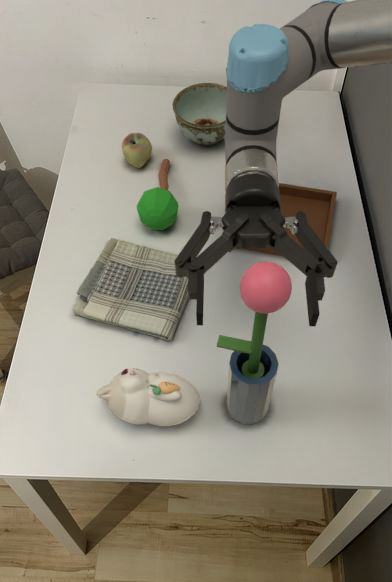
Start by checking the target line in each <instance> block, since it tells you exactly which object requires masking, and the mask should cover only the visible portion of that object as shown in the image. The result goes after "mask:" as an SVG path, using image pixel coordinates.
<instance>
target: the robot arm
mask: <svg viewBox="0 0 392 582" xmlns="http://www.w3.org/2000/svg"><path fill="white" fill-rule="evenodd" d="M389 64H392V0H350V1H348V0H321V1H319V2H316V3H314V4H312V5H310V6H309V7H308V8H307V9H306V10H304V12H302V13H301V14H299V15H298V16H296V17H295V18H293V19H292V20H290V21H289V22H287V23H286V24H285V25H283V26H281V27H280V28H279V27H277V26H274V25H273V24H272V25H271V24H267V23H254V24H253V25H252V26H247V25H246V26H244V27H241V28H240V29H238V30H237V31H236V32H235V33H234V34H233V35H232V36H231V39H230V41H229V45H228V55H227V62H226V68H225V76H226V87H227V108H226V125H225V135H224V138H223V140H224V154H225V156H224V157H225V169H224V191H225V193H224V214H223V216H213V215H212V212H211V211H209V210H206V211H204V212H202V214H201V219H200V224H199V225H198V227H197V228H196V229H195V231H193V233H192V235H191V236H190V238H189V239H188V241H187V242H186V243H185V245H184V247H182V249H181V251H180V252H179V253H178V254H177V255H178V256H177V258H176V259H175V271H176V275H177V276H178V277H183V276H185V277H187V278H188V300H191V301H192V300H193V301H194V300H195V301H196V305H195V315H196V319H195V320H196V326H204V302H205V301H204V300H205V299H204V297H205V296H204V295H205V274H206V273H207V272H208V271H209V270H210V269H211V268H213V267H214V266H215V265H216V264H217V263H218V262H219V261H220V260H222V258H223V257H224V256H226V254H227V253H232V251H233V250H235V249H237V248H236V247H237V246H238V245H239V246H242V248H250V247H256V248H265V246H269V247H270V248H271V249H272V250H273V251H275V252H276V253H277V252H279V253H280V254H281V255H283V256H282V257H283V258H284V259H286V260H287V261H288V262H289V263H290V264H292V265H293V266H294V267H295V268H296V269H298V270H299V271H300V272H301V273H302V274H303V275H305V282H304V286H305V288H304V289H305V297H306V298H305V299H306V307H307V319H308V327H316V326H317V323H318V320H319V317H320V313H321V312H320V306H319V305H320V303H319V302H321V301H323V299H324V296H325V293H326V284H325V278H326V279H331V278H333V277H334V275H335V272H336V270H337V266H338V261H337V258H336V257H335V256H334V255H333V254H332V252H331V251H330V250H329V248H328V249H327V247H326V246H325V245H324V244H323V242H322V241H321V240H320V238H319V237H318V236H317V235H316V233H315V232H314V231H313V229H312V228H311V227H310V226H309V224H308V222H307V218H306V214H305V213H304V212H302V211H299V212H297V214H296V217H284V216H283V214H282V213H281V207H280V194H279V183H280V181H279V170H278V161H277V139H278V132H279V131H278V130H279V122H280V117H281V110H282V104H283V100H284V98H285V97H287V96H288V95H289V94H291V93H292V92H294V91H295V90H296V89H297V88H299V87H300V86H301V85H303V84H304V83H306V82H307V81H308V80H311V78H313V77H314V76H315V75H317V74H318V73H319V72H322V71H327V70H329V71H330V70H338V69H347V68H356V67H366V66H367V67H368V66H376V65H389ZM219 228H221V230H222V233H221V235H220V236H218V237H217V238H216V239H215V240H214V241H213V242H212V243H211V244H210V245H209V246H207V247H206V248H205V249H204V250H203V248H204V247H205V245H206V244H207V243H208V241H209V239H210V237H211V235H214V234H215V233H216V231H217V230H218V229H219ZM284 228H289V229H290V231H291V232H292V234H293V235H295V234H296V237H297V239H298V241H299V242H300V244H301V245H302V246H303V248H302V247H301V246H300V245H299V244H298V243H296V242H295V241H294V240H293V239H292V238H290V237H289V236H288V235H287V232H286V230H285V229H284ZM202 250H203V251H202ZM201 251H202V252H201Z"/></svg>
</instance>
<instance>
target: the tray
mask: <svg viewBox="0 0 392 582" xmlns="http://www.w3.org/2000/svg"><path fill="white" fill-rule="evenodd" d="M279 194H280V207H281V213H282V214H283V216H284V217H296V214H297V212H299V211H302V212H304V213H305V214H306V218H307V222H308V224H309V226H310V227H311V228H312V229H313V231H314V232H315V233H316V235H317V236H318V237H319V238H320V240H321V241H322V242H323V244H324V245H325V246H326V247H327V249H328V250H329V243H330V237H331V236H330V235H331V231H332V225H333V220H334V213H335V207H336V201H337V195H338V192H337V191H334V190H328V189H321V188H316V187H315V188H314V187H308V186H302V185H295V184H289V183H284V182H283V183H282V182H279ZM284 229H285V230H286V232H287V235H288V236H289V237H290V238H292V239H293V240H294V241H295V242H296V243H298V244H299V245H300V246H301V247H302V248H303V246H302V245H301V244H300V242H299V241H298V239H297V237H296V234H295V235H293V234H292V232H291V231H290V229H289V228H284ZM235 249H239V250H246V251H251V252H255V253H261V254H267V255H274V256H278V257H279V256H280V257H284V256H283V255H281V254H280V253H279V252H277V253H276V252H275V251H273V250H272V249H271V248H270V247H269V246H265V248H256V247H250V248H242V246H239V245H238V246H237V247H236V248H235Z"/></svg>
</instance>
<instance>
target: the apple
mask: <svg viewBox="0 0 392 582" xmlns="http://www.w3.org/2000/svg"><path fill="white" fill-rule="evenodd" d="M121 151H122V155H123V156H124V159H125V160H126V162H127V163H128V164H130V165H132V166H133V167H135V168H138V169H140V168H142V167H144V166H145V165H146V163H147V162H148V160H150V158H151V156H152V153H153V145H152V142H151V141H150V139H149V138H148V137H147V136H146V135H145V134H143V133H141V132H130V133H129V134H128V135H126V136H125V137H124V138H123V140H122V143H121Z"/></svg>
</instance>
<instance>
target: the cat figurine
mask: <svg viewBox="0 0 392 582" xmlns="http://www.w3.org/2000/svg"><path fill="white" fill-rule="evenodd" d="M96 396H97V397H98V399H101V400H103V401H105V402H106V403H107V405H108V407H109V409H110V411H111V412H112V413H113V414H114V415H115V416H116V417H118V418H119V419H120V420H123V422H126V423H128V424H131V425H146V424H147V425H148V424H150V425H153V426H159V427H171V426H176V425H179V424H182V423H185V422H186V421H188V420H189V419H190V418H192V417H193V416H195V414H196V413H197V411H198V410H199V408H200V404H201V397H200V393H199V392H198V390H197V389H196V387H195V386H194V385H193V384H192V383H191V382H189V380H187V379H185V378H183V377H182V376H179V375H177V374H175V373H170V372H153V373H148V372H147V371H146V370H143V369H141V368H124V369H123V370H122V371H121V372H119V373H118V374H116V375H115V376H114V377H113V378H112V379H111V380H110V381H109V383H108V384H105V385H103V386H102V387H100V388H99V389H98V390H97V391H96Z"/></svg>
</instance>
